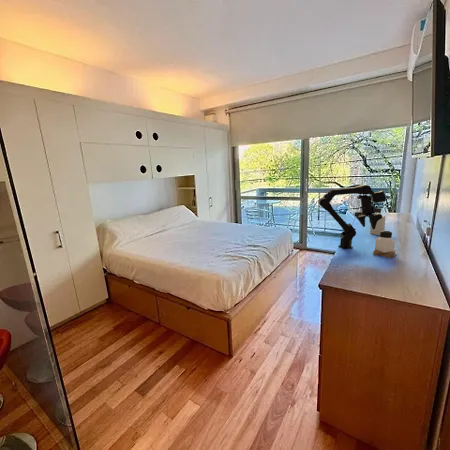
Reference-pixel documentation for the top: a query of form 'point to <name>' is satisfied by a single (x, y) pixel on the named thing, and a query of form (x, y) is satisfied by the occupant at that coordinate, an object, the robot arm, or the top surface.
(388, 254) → the walnut block
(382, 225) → the skincare box
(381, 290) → the top surface
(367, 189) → the robot arm
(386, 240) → the medicine bottle
